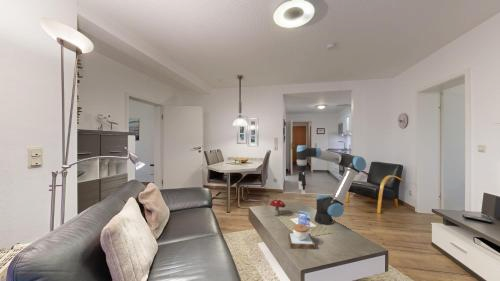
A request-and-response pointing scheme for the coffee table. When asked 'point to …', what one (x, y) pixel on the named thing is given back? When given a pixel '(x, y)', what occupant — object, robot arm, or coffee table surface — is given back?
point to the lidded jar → (300, 231)
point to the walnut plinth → (301, 242)
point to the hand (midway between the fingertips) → (302, 191)
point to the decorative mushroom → (277, 206)
